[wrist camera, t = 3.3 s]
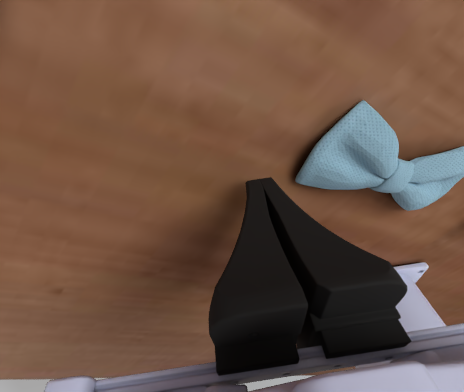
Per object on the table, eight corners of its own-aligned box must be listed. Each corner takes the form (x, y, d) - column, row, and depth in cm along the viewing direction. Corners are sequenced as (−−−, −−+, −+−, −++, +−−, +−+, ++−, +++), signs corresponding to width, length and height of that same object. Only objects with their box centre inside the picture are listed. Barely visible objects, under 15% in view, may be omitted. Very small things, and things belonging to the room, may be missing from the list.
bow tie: (510, 163, 12) (429, 226, 15) (482, 148, 13) (412, 208, 16) (360, 103, 9) (296, 196, 12) (341, 90, 10) (287, 177, 13)
